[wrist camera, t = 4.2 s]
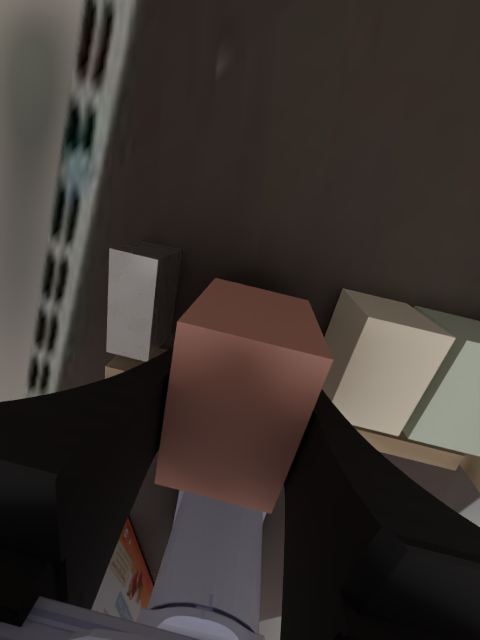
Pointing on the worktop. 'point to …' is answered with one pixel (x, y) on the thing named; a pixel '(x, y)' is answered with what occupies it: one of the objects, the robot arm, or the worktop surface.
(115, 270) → the grey rectangular block
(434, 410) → the pale green block
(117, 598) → the cracker box
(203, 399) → the pink rectangular block
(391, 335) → the cream rectangular block
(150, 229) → the worktop surface
